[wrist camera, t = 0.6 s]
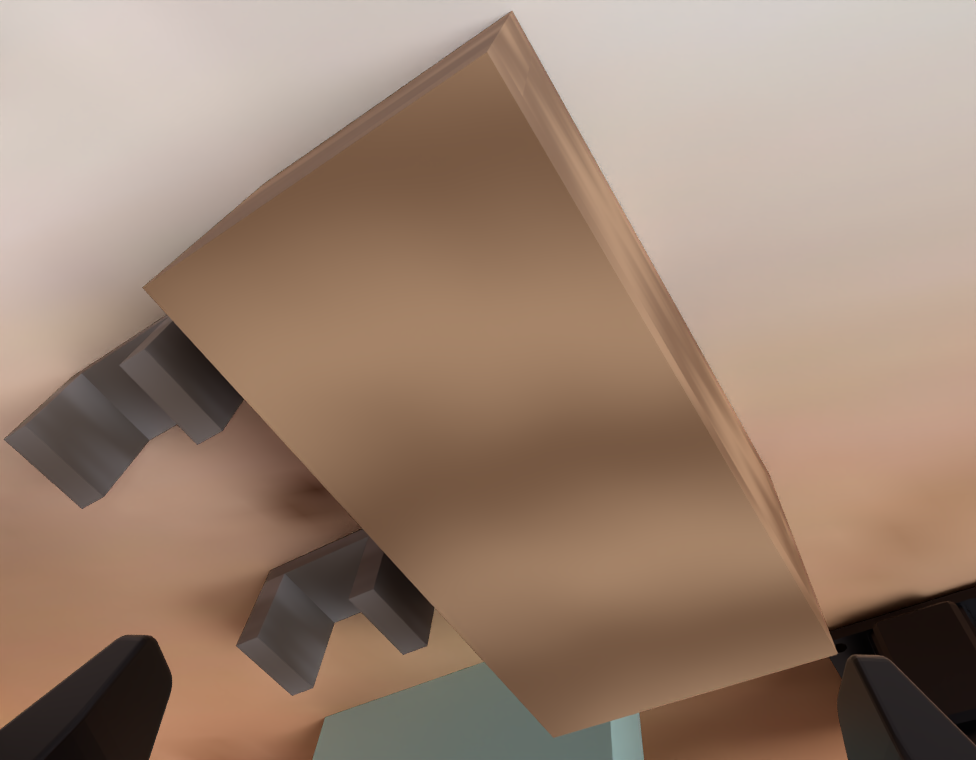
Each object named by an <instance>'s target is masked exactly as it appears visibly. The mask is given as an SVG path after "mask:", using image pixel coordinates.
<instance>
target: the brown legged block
mask: <svg viewBox="0 0 976 760" xmlns="http://www.w3.org/2000/svg"><path fill="white" fill-rule="evenodd" d="M142 288H143V289H144V290H145V291H146V292H147V293H148V294H149V295H150V296H151V298H152V299H153V300H154V301H155V302H156V303H157V304H158V305H159V306H160V307H161V308H162V310H163V311H164V312H165V313H166V314H167V315H166V316H164V317H163V318H161V319H160V320H158V321H157V322H155V323H154V324H152V325H151V326H149V327H147V328H146V329H144V330H143V331H141V332H140V333H138V334H137V335H135V336H134V337H132V338H131V339H129V340H128V341H126V342H125V343H123V344H122V345H120V346H118V347H117V348H115V349H114V350H112V351H111V352H109V353H108V354H106V355H105V356H103V357H102V358H100V359H99V360H97V361H96V362H94V363H93V364H91V365H89V366H88V367H86V368H85V369H83V370H82V371H80V372H79V373H77V374H76V375H74V376H73V377H71V378H70V379H69V380H68V381H67V382H66V383H65V384H64V385H63V386H62V387H60V388H59V389H58V390H57V391H56V392H55V393H54V394H53V395H52V396H51V397H49V398H48V399H47V400H46V401H45V402H44V403H43V404H42V405H41V406H40V407H39V408H37V409H36V410H35V411H34V412H33V413H32V414H31V415H30V416H29V417H28V418H26V419H25V420H24V421H23V422H22V423H21V424H20V425H19V426H18V427H17V428H16V429H14V430H13V431H12V432H11V433H10V434H9V435H8V436H7V437H6V438H5V439H4V440H5V441H6V442H7V443H8V444H10V445H11V446H12V447H13V448H14V449H15V450H16V451H17V452H19V453H20V454H21V455H22V456H23V457H24V458H25V459H26V460H28V461H29V462H30V463H31V464H32V465H33V466H34V467H35V468H37V469H38V470H39V471H40V472H41V473H42V474H43V475H44V476H46V477H47V478H48V479H49V480H50V481H51V482H52V483H53V484H55V485H56V486H57V487H58V488H59V489H60V490H61V491H62V492H64V493H65V494H66V495H67V496H68V497H69V498H70V499H71V500H73V501H74V502H75V503H76V504H77V505H78V506H79V507H80V508H82V509H83V508H85V507H86V506H88V505H90V504H92V503H94V502H95V501H97V500H99V499H101V498H103V497H104V496H105V495H106V493H107V492H108V491H109V490H110V488H111V487H112V486H113V485H114V484H115V482H116V481H117V480H118V479H119V477H120V476H121V475H122V474H123V472H124V471H125V470H126V469H127V467H128V466H129V465H130V464H131V462H132V461H133V460H134V459H135V458H136V456H137V455H138V454H139V453H140V451H141V450H142V449H143V448H144V446H145V445H146V444H147V443H148V441H149V440H151V439H153V438H154V437H156V436H158V435H159V434H161V433H163V432H165V431H166V430H168V429H170V428H172V427H173V426H175V425H178V426H179V427H180V428H181V429H182V430H183V431H184V432H185V433H186V434H187V435H188V436H189V437H190V438H191V439H192V440H193V441H194V442H195V443H196V444H197V445H198V444H200V443H202V442H203V441H205V440H207V439H209V438H211V437H212V436H214V435H216V434H218V433H220V432H221V431H223V429H224V428H225V427H226V425H227V424H228V422H229V421H230V419H231V418H232V416H233V415H234V413H235V412H236V410H237V409H238V407H239V406H240V404H241V403H242V401H243V400H244V399H245V401H246V402H247V403H248V404H249V405H250V406H251V407H252V408H253V409H254V410H255V411H256V413H257V414H258V415H259V416H260V417H261V418H262V419H263V420H264V421H265V422H266V424H267V425H268V426H269V427H270V428H271V429H272V430H273V431H274V432H275V433H276V434H277V436H278V437H279V438H280V439H281V440H282V441H283V442H284V443H285V444H286V445H287V447H288V448H289V449H290V450H291V451H292V452H293V453H294V454H295V455H296V456H297V457H298V459H299V460H300V461H301V462H302V463H303V464H304V465H305V466H306V467H307V468H308V470H309V471H310V472H311V473H312V474H313V475H314V476H315V477H316V478H317V479H318V480H319V482H320V483H321V484H322V485H323V486H324V487H325V488H326V489H327V490H328V491H329V493H330V494H331V495H332V496H333V497H334V498H335V499H336V500H337V501H338V502H339V504H340V505H341V506H342V507H343V508H344V509H345V510H346V511H347V512H348V513H349V514H350V516H351V517H352V518H353V519H354V520H355V521H356V522H357V523H358V524H359V525H360V527H361V528H362V529H361V530H359V531H357V532H355V533H352V534H350V535H348V536H346V537H344V538H341V539H339V540H337V541H335V542H333V543H330V544H328V545H326V546H324V547H322V548H319V549H317V550H315V551H313V552H310V553H308V554H306V555H304V556H302V557H299V558H297V559H295V560H293V561H291V562H288V563H286V564H284V565H282V566H279V567H277V568H275V569H273V570H271V571H270V572H269V574H268V577H267V579H266V581H265V583H264V585H263V588H262V590H261V592H260V594H259V596H258V599H257V601H256V603H255V605H254V607H253V610H252V612H251V614H250V616H249V618H248V621H247V623H246V625H245V627H244V629H243V632H242V634H241V636H240V638H239V640H238V643H237V645H236V646H237V647H238V648H239V649H240V650H241V651H242V652H243V653H245V654H246V655H247V656H248V657H249V658H250V659H251V660H252V661H254V662H255V663H256V664H257V665H258V666H259V667H260V668H261V669H263V670H264V671H265V672H266V673H267V674H268V675H269V676H270V677H272V678H273V679H274V680H275V681H276V682H277V683H278V684H279V685H281V686H282V687H283V688H284V689H285V690H286V691H287V692H288V693H290V694H291V695H292V696H293V695H295V694H298V693H301V692H304V691H306V690H309V689H312V688H313V687H314V684H315V681H316V678H317V675H318V672H319V669H320V665H321V662H322V659H323V656H324V653H325V650H326V647H327V644H328V641H329V638H330V635H331V632H332V629H333V626H334V623H335V622H338V621H340V620H343V619H345V618H348V617H350V616H353V615H355V614H358V613H360V612H362V613H363V614H364V615H365V616H366V617H367V618H368V619H369V620H370V622H371V623H372V624H373V625H374V626H375V627H376V628H377V629H378V630H379V631H380V632H381V633H382V634H383V635H384V636H385V637H386V638H387V639H388V640H389V641H390V642H391V643H392V644H393V645H394V646H395V647H396V648H397V649H398V650H399V651H400V652H401V653H402V654H403V655H404V654H407V653H409V652H412V651H415V650H418V649H420V648H423V647H426V646H427V644H428V639H429V634H430V628H431V623H432V618H433V612H434V608H435V609H436V610H437V611H438V612H439V613H440V614H441V615H442V616H443V617H444V619H445V620H446V621H447V622H448V623H449V624H450V625H451V626H452V627H453V628H454V629H455V631H456V632H457V633H458V634H459V635H460V636H461V637H462V638H463V639H464V640H465V642H466V643H467V644H468V645H469V646H470V647H471V648H472V649H473V650H474V651H475V653H476V654H477V655H478V656H479V657H480V658H481V659H482V660H483V661H484V662H485V663H486V665H487V666H488V667H489V668H490V669H491V670H492V671H493V672H494V673H495V674H496V676H497V677H498V678H499V679H500V680H501V681H502V682H503V683H504V684H505V685H506V686H507V688H508V689H509V690H510V691H511V692H512V693H513V694H514V695H515V696H516V697H517V699H518V700H519V701H520V702H521V703H522V704H523V705H524V706H525V707H526V708H527V709H528V711H529V712H530V713H531V714H532V715H533V716H534V717H535V718H536V719H537V720H538V722H539V723H540V724H541V725H542V726H543V727H544V728H545V729H546V730H547V731H548V732H549V734H550V735H551V736H552V737H553V738H555V737H558V736H562V735H565V734H569V733H572V732H575V731H579V730H582V729H586V728H589V727H592V726H596V725H599V724H603V723H606V722H609V721H613V720H616V719H620V718H623V717H626V716H630V715H633V714H637V713H640V712H643V711H647V710H650V709H653V708H657V707H660V706H664V705H667V704H670V703H674V702H677V701H681V700H684V699H687V698H691V697H694V696H698V695H701V694H704V693H708V692H711V691H715V690H718V689H721V688H725V687H728V686H732V685H735V684H738V683H742V682H745V681H748V680H752V679H755V678H759V677H762V676H765V675H769V674H772V673H776V672H779V671H782V670H786V669H789V668H793V667H796V666H799V665H803V664H806V663H810V662H813V661H816V660H820V659H823V658H827V657H830V656H833V655H837V654H838V653H837V650H836V648H835V645H834V643H833V640H832V637H831V635H830V632H829V629H828V627H827V624H826V622H825V619H824V616H823V614H822V611H821V609H820V606H819V603H818V601H817V598H816V595H815V593H814V590H813V588H812V585H811V582H810V580H809V577H808V574H807V572H806V569H805V567H804V564H803V561H802V559H801V556H800V554H799V551H798V548H797V546H796V543H795V540H794V538H793V535H792V533H791V530H790V527H789V525H788V522H787V519H786V517H785V514H784V512H783V509H782V506H781V504H780V501H779V499H778V496H777V493H776V491H775V488H774V485H773V483H772V480H771V478H770V475H769V473H768V471H767V469H766V468H765V466H764V464H763V462H762V460H761V459H760V457H759V455H758V453H757V451H756V450H755V448H754V446H753V444H752V442H751V441H750V439H749V437H748V435H747V433H746V432H745V430H744V428H743V426H742V424H741V423H740V421H739V419H738V417H737V415H736V413H735V412H734V410H733V408H732V406H731V404H730V403H729V401H728V399H727V397H726V395H725V394H724V392H723V390H722V388H721V386H720V385H719V383H718V381H717V379H716V377H715V376H714V374H713V372H712V370H711V368H710V367H709V365H708V363H707V361H706V359H705V358H704V356H703V354H702V352H701V350H700V349H699V347H698V345H697V343H696V341H695V340H694V338H693V336H692V334H691V332H690V331H689V329H688V327H687V325H686V323H685V322H684V320H683V318H682V316H681V314H680V312H679V311H678V309H677V307H676V305H675V303H674V302H673V300H672V298H671V296H670V294H669V293H668V291H667V289H666V287H665V285H664V284H663V282H662V280H661V278H660V276H659V275H658V273H657V271H656V269H655V267H654V266H653V264H652V262H651V260H650V258H649V257H648V255H647V253H646V251H645V249H644V248H643V246H642V244H641V242H640V240H639V239H638V237H637V235H636V233H635V231H634V230H633V228H632V226H631V224H630V222H629V221H628V219H627V217H626V215H625V213H624V212H623V210H622V208H621V206H620V204H619V202H618V201H617V199H616V197H615V195H614V193H613V192H612V190H611V188H610V186H609V184H608V183H607V181H606V179H605V177H604V175H603V174H602V172H601V170H600V168H599V166H598V165H597V163H596V161H595V159H594V157H593V156H592V154H591V152H590V150H589V148H588V147H587V145H586V143H585V141H584V139H583V138H582V136H581V134H580V132H579V130H578V129H577V127H576V125H575V123H574V121H573V120H572V118H571V116H570V114H569V112H568V111H567V109H566V107H565V105H564V103H563V101H562V100H561V98H560V96H559V94H558V92H557V91H556V89H555V87H554V85H553V83H552V82H551V80H550V78H549V76H548V74H547V73H546V71H545V69H544V67H543V65H542V64H541V62H540V60H539V58H538V56H537V55H536V53H535V51H534V49H533V47H532V46H531V44H530V42H529V40H528V38H527V37H526V35H525V33H524V31H523V29H522V28H521V26H520V24H519V22H518V20H517V19H516V17H515V15H514V13H513V11H511V12H509V13H508V14H507V15H505V16H504V17H502V18H501V19H499V20H498V21H496V22H495V23H494V24H492V25H491V26H489V27H488V28H486V29H485V30H484V31H482V32H481V33H479V34H478V35H476V36H475V37H474V38H472V39H471V40H469V41H468V42H466V43H465V44H463V45H462V46H461V47H459V48H458V49H456V50H455V51H453V52H452V53H451V54H449V55H448V56H446V57H445V58H443V59H442V60H441V61H439V62H438V63H436V64H435V65H433V66H432V67H430V68H429V69H428V70H426V71H425V72H423V73H422V74H420V75H419V76H418V77H416V78H415V79H413V80H412V81H410V82H409V83H408V84H406V85H405V86H403V87H402V88H400V89H399V90H398V91H396V92H395V93H393V94H392V95H390V96H389V97H387V98H386V99H385V100H383V101H382V102H380V103H379V104H377V105H376V106H375V107H373V108H372V109H370V110H369V111H367V112H366V113H365V114H363V115H362V116H360V117H359V118H357V119H356V120H354V121H353V122H352V123H350V124H349V125H347V126H346V127H344V128H343V129H342V130H340V131H339V132H337V133H336V134H334V135H333V136H332V137H330V138H329V139H327V140H326V141H324V142H323V143H321V144H320V145H319V146H317V147H316V148H314V149H313V150H311V151H310V152H309V153H307V154H306V155H304V156H303V157H301V158H300V159H299V160H297V161H296V162H294V163H293V164H291V165H290V166H289V167H287V168H286V169H284V170H283V171H281V172H280V173H278V174H277V175H276V176H274V177H273V178H271V179H270V180H268V181H267V182H266V183H264V184H263V185H262V186H261V187H260V188H258V189H257V190H256V191H255V192H254V193H253V194H251V195H250V196H249V197H248V198H247V199H246V200H244V201H243V202H242V203H241V204H240V205H239V206H237V207H236V208H235V209H234V210H233V211H232V212H230V213H229V214H228V215H227V216H226V217H224V218H223V219H222V220H221V221H220V222H219V223H217V224H216V225H215V226H214V227H213V228H212V229H210V230H209V231H208V232H207V233H206V234H205V235H203V236H202V237H201V238H200V239H199V240H198V241H196V242H195V243H194V244H193V245H192V246H191V247H189V248H188V249H187V250H186V251H185V252H183V253H182V254H181V255H180V256H179V257H178V258H176V259H175V260H174V261H173V262H172V263H171V264H169V265H168V266H167V267H166V268H165V269H164V270H162V271H161V272H160V273H159V274H158V275H157V276H155V277H154V278H153V279H152V280H151V281H149V282H148V283H147V284H146V285H145V286H144V287H142Z"/></svg>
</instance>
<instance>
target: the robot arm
mask: <svg viewBox="0 0 976 760" xmlns="http://www.w3.org/2000/svg"><path fill="white" fill-rule="evenodd" d="M830 635H831V637H832V640H833V643H834V645H835V648H836V650H837V653H838V654H837V655H833V656H830V657H829V658H830V660H831V661H832V663H833V665H834V666H835V668H836V670H837V671H838V673H839V675H840V676H841V678H842V681H841V685H840V690H839V694H838V699H837V709H838V717H839V721H840V726H841V730H842V735H843V739H844V744H845V748H846V753H847V757H848V760H976V587H973V588H970V589H967V590H963V591H960V592H957V593H954V594H950V595H947V596H944V597H941V598H937V599H934V600H931V601H928V602H924V603H921V604H918V605H915V606H911V607H908V608H905V609H901V610H898V611H895V612H892V613H888V614H885V615H882V616H879V617H875V618H872V619H869V620H866V621H862V622H859V623H856V624H852V625H849V626H846V627H843V628H839V629H836V630H833V631H830ZM171 688H172V675H171V672H170V669H169V667H168V665H167V663H166V660H165V658H164V656H163V654H162V651H161V649H160V647H159V645H158V642H157V641H156V639H155V638H153V637H152V636H149V635H125V636H122V637H120V638H118V639H116V640H115V641H114V642H112V643H111V644H110V645H108V646H107V647H106V648H105V649H103V650H102V651H101V652H99V653H98V654H97V655H96V656H94V657H93V658H92V659H90V660H89V661H88V662H87V663H85V664H84V665H83V666H81V667H80V668H79V669H78V670H76V671H75V672H74V673H72V674H71V675H70V676H68V677H67V678H66V679H65V680H63V681H62V682H61V683H59V684H58V685H57V686H56V687H54V688H53V689H52V690H50V691H49V692H48V693H47V694H45V695H44V696H43V697H41V698H40V699H39V700H38V701H36V702H35V703H34V704H32V705H31V706H30V707H28V708H27V709H26V710H25V711H23V712H22V713H21V714H19V715H18V716H17V717H16V718H14V719H13V720H12V721H10V722H9V723H8V724H7V725H5V726H4V727H3V728H1V729H0V760H149V758H150V755H151V751H152V748H153V745H154V742H155V739H156V736H157V733H158V730H159V727H160V724H161V721H162V718H163V715H164V712H165V709H166V706H167V703H168V700H169V696H170V693H171Z"/></svg>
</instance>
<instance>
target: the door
mask: <svg viewBox="0 0 976 760" xmlns="http://www.w3.org/2000/svg"><path fill="white" fill-rule="evenodd" d="M312 760H644V755H643V745H642V735H641V725H640V715H639V713H637V714H633V715H630V716H626V717H623V718H620V719H616V720H613V721H609V722H606V723H603V724H599V725H596V726H592V727H589V728H586V729H582V730H579V731H575V732H572V733H569V734H565V735H562V736H558V737H555V738H553V737H552V736H551V735H550V734H549V732H548V731H547V730H546V729H545V728H544V727H543V726H542V725H541V724H540V723H539V722H538V720H537V719H536V718H535V717H534V716H533V715H532V714H531V713H530V712H529V711H528V709H527V708H526V707H525V706H524V705H523V704H522V703H521V702H520V701H519V700H518V699H517V697H516V696H515V695H514V694H513V693H512V692H511V691H510V690H509V689H508V688H507V686H506V685H505V684H504V683H503V682H502V681H501V680H500V679H499V678H498V677H497V676H496V674H495V673H494V672H493V671H492V670H491V669H490V668H489V667H488V666H487V665H486V663H485V662H483V663H480V664H477V665H474V666H471V667H468V668H465V669H463V670H460V671H457V672H454V673H451V674H448V675H445V676H442V677H440V678H437V679H434V680H431V681H428V682H425V683H422V684H419V685H417V686H414V687H411V688H408V689H405V690H402V691H399V692H396V693H394V694H391V695H388V696H385V697H382V698H379V699H376V700H373V701H371V702H368V703H365V704H362V705H359V706H356V707H353V708H350V709H348V710H345V711H342V712H339V713H336V714H333V715H330V716H327V717H325V719H324V723H323V726H322V729H321V733H320V736H319V739H318V743H317V746H316V749H315V753H314V756H313V759H312Z"/></svg>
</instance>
